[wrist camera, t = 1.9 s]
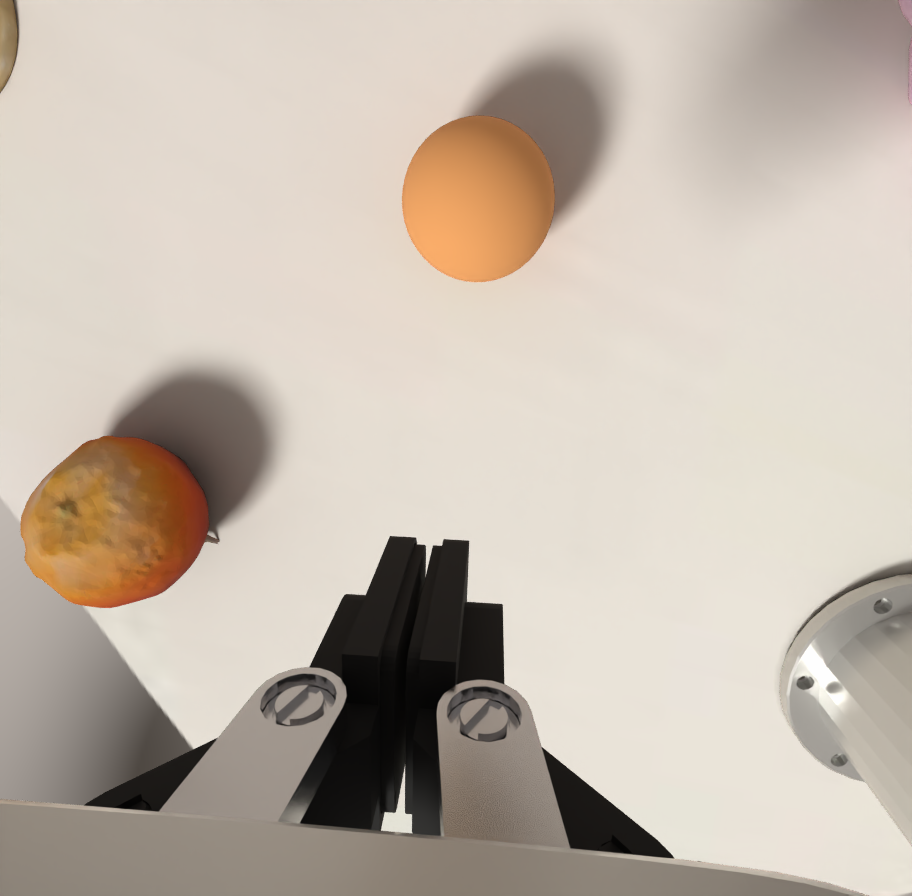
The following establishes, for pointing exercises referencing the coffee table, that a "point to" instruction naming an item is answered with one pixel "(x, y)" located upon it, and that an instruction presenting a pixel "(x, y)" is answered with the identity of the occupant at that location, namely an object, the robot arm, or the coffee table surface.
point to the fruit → (115, 523)
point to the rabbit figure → (911, 9)
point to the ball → (478, 198)
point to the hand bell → (7, 40)
